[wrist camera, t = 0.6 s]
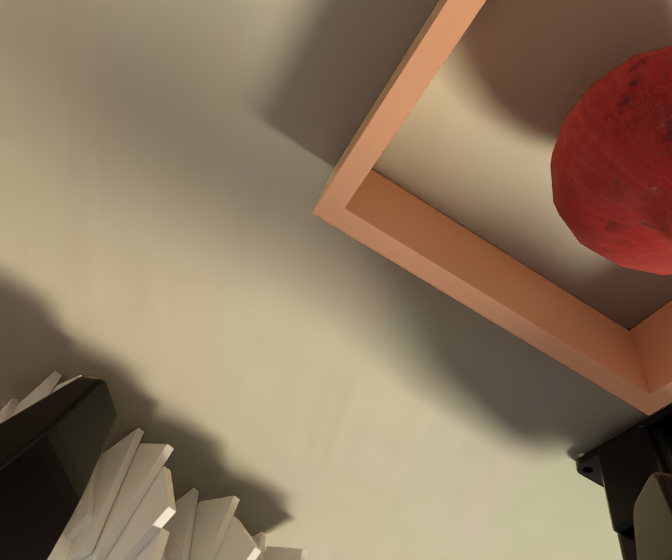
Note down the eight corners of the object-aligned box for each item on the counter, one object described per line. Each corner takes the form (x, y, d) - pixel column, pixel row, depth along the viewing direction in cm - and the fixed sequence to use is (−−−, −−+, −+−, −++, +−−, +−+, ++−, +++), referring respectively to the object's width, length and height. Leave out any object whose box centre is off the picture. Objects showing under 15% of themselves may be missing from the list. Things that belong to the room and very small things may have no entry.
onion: (577, 3, 16) (641, 87, 10) (785, 31, 15) (996, 141, 9) (518, 180, 20) (538, 325, 13) (685, 209, 19) (788, 375, 13)
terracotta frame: (1078, 38, 14) (1223, 78, 11) (628, 351, 23) (648, 415, 20) (650, -338, 12) (702, -401, 9) (333, 168, 21) (311, 213, 18)
